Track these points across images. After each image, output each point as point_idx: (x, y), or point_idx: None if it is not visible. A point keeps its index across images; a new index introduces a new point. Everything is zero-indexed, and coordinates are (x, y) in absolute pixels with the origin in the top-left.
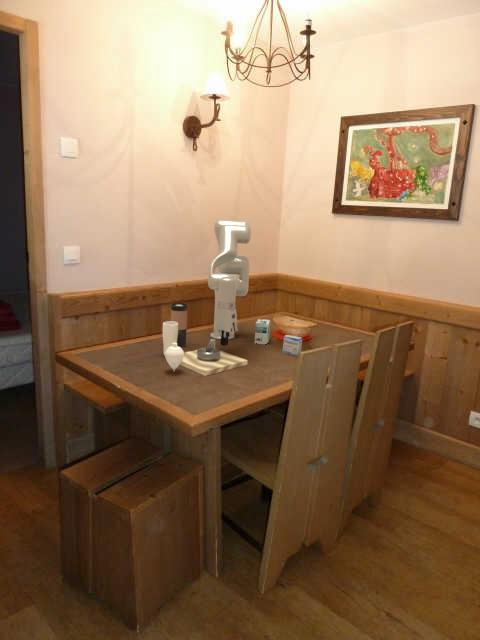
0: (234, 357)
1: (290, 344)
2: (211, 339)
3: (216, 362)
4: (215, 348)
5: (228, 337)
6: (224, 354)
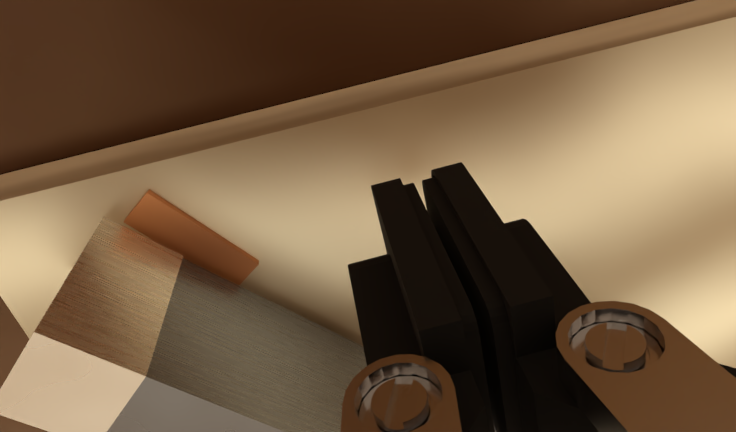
0: (693, 106)
1: None
2: (14, 404)
3: None
4: None
5: (537, 272)
6: None
